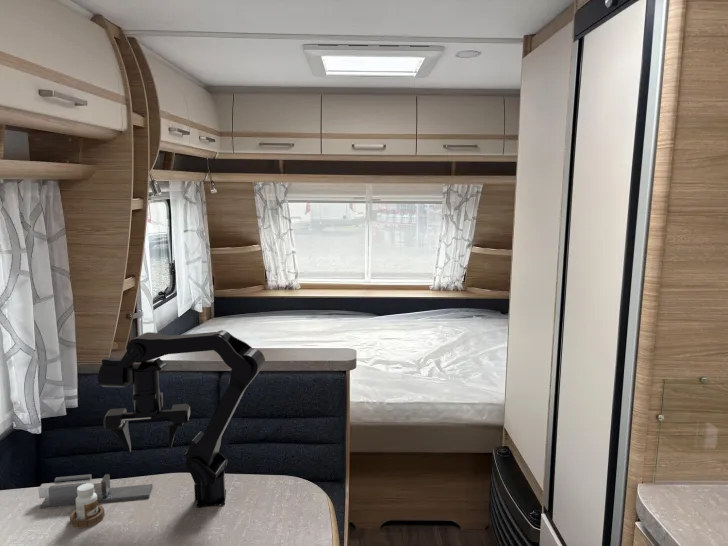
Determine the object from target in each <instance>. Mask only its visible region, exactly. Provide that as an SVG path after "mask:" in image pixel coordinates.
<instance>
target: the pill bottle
mask: <svg viewBox="0 0 728 546" xmlns="http://www.w3.org/2000/svg"><path fill="white" fill-rule="evenodd" d="M77 495H78V497H77V498H76V505H75V508H76V509H75V510H76V513H77V518H76V519H77V520H85V519H90V518H92V517H95V516H96V515H98V514H99V513H98V505H99V503H98V500H97V494H96V493H94V485H93V484H91V483H87V484H83V485H80V486H79V487H78V488H77Z"/></svg>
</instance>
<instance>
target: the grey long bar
mask: <svg viewBox="0 0 728 546" xmlns="http://www.w3.org/2000/svg"><path fill="white" fill-rule="evenodd" d="M110 477H111V476H110V474H109V473H106V474H104V475H103V477H102V478H92V479H90V480H79V481H68V482H57V483H55V482H49V483H41V484H40V486H39V487H38V498H39V499H45V498H49V490H48V488H49V487H50V486H56V485H66V484H77V483H91V484H93V485H94V493H101V492H102V496H107V494H108V492H109V490H110V488H111V482H110V481H111V480H110V479H111V478H110Z"/></svg>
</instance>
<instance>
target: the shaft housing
mask: <svg viewBox="0 0 728 546" xmlns="http://www.w3.org/2000/svg"><path fill="white" fill-rule="evenodd" d="M90 479H93V478H92V473H91V474H90V473H89V474H80V475H68V476H59V477H58V476H57V477H55V478H54V483H57V482H68V481H79V480H90ZM83 484H87V483H77V484H66V485H56V486H50V487H49V488H48V490H49V498H44V500H43V501H42V503H41V504H40V509H48V508H49V509H51V508H60V507H59V506H61V507H68V506H76V498H77V497H78V495H77V488H78V487H79V486H80V485H83ZM153 487H154V486H153V483H149V484H147V483H146V484H138V485H129V486H128V485H127V486H118V487H110V490H109V492H108V494H107V496H102V492H101V493H96V494H97V500H98V504H99V503H101V504H102V503H109V502H118V501H129V500H138V499H139V500H140V499H149V498H150V495H151V493H152V490H153Z"/></svg>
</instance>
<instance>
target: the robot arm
mask: <svg viewBox="0 0 728 546" xmlns="http://www.w3.org/2000/svg"><path fill="white" fill-rule="evenodd" d="M209 351H210V352H211V351H214V352H215V353H217V354H218V356H219V357H220V358H221V360H223V362H224V364H226V366H228V368H230V369H231V370H230V373H229V381H228V385H227V388H226V390H225V392H224V394H223V396H222V398H221V400H220V402H219V404H218V405H217V408H216V410H215V412H214V414H213V416H212V417H211V420H210V422H209V423H208V425H207V428H206V429H205V432H203V431H202V430H201V431H199V432H198V434H196V435H195V437H193V439H192V440H191V441H190V444H189V447H188V449H187V451H186V452H185V453H184V454H183V456H184V457H185V459H184V465H185V468H186V470H187V471H188V472H189V473H190V475H191V477H192V481H193V483H194V486H193V487H194V489H193V490H194V501H195V502H196V507H197V508H205V507H213V506H214V507H215V506H222V505H225V504H226V500H227V499H226V497H227V489H226V481H225V480H226V476H225V470H224V469H225V468H226V467H227V465H228V462H229V461H228V460H229V459H228V457H226V456H225V455H224V454H223V453H221V452H220V448H221V442H222V437H223V435H224V432H225V430H226V429H227V426H228V425H229V422H230V421H231V419H232V417H233V415H234V413H235V411H236V409H237V407H238V405H239V403H240V401H241V399H242V397H243V395H244V393H245V391H246V389H247V388H248V386H249V385H250V384H251V383H252V381H253V380H254V379H255V377H256V376H257V375H258V374H259V372H260V371H261V370H262V369H263V367H264V366H265V363H266V358H265V355H264V354H263V352H262V351H261V350H259V349H258V348H256V347H255V348H253V347H252V346H251V345H249V343H247V342H245V341H243V340H241V339H240V338H237V337H236V336H234V335H233V334H231V333H230V332H229V331H226V330H223V329H221V330H218V331H217V330H216V331H209V332H199V333H198V332H197V333H189V334H188V333H187V334H177V335H169V334H168V335H167V334H165V333H162V332H161V333H160V332H150V331H148V332H144V333H142V334H140V335H138V336H136V337H134V338H132V339H131V340H129V341H128V343H127V345H126V352H125V353H124V355H123V356H122V358H119V357H118V358H114V357H105V358H103V359H101V365H100V368H99V371H98V375H97V382H98V384H99V386H100V387H103V388H127V387H128V386H130V385H131V384H132V388H133V389H132V398H131V399H132V404H133V405H134V407H133V408H134V411H133V412H127V408H126V407H120V408H110V409H109V410H108V411H107V413H106V414H105V416H104V417H103V422H102V425H103V429H105V430H108V429H109V431H110V432H113V433H114V434H115V435H116V436H117V437H118V439H120V441H121V442H122V443H123V446H124V448H125V449H126V450H127V451H126V452H127V453H131V451H132V442H131V436H130V430H129V422H132V421H133V422H134V421H135V422H136V421H147V420H149V421H150V420H160V419H161V420H163V419H169V420H170V423H169V426H168V449H169V450H171V449H172V447H173V443H174V438H175V435H176V432H177V430H178V428H179V427H182V426H183V425H184V424H186V423H188V422H189V420H190V419H189V418H190V416H191V406H190V405H189V404H188V403H179V404H177V403H176V404H172V406H171V409H163V406H164V392H161V390H160V379H159V377H160V376H159V372H160V371H162V370H163V369H165V368H166V367H168V363H167V362H165V361H163V360H162V359H161V357H164V356H167V355H176V354H177V355H178V354H186V353H199V352H209ZM153 360H154V361H153ZM162 409H163V410H162Z"/></svg>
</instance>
